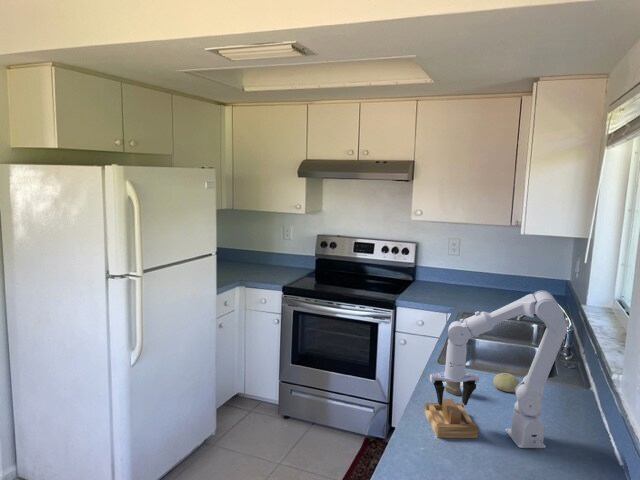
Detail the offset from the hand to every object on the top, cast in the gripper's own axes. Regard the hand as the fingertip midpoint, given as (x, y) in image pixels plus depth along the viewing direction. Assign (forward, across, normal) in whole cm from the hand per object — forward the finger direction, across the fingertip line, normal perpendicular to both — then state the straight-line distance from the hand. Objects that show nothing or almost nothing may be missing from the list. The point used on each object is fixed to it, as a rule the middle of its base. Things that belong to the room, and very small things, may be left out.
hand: (452, 403), depth 151 cm
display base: (+7, 0, 0) cm, 7 cm away
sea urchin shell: (+8, -29, -25) cm, 39 cm away
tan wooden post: (+5, 0, 0) cm, 5 cm away
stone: (+7, -8, -21) cm, 24 cm away
